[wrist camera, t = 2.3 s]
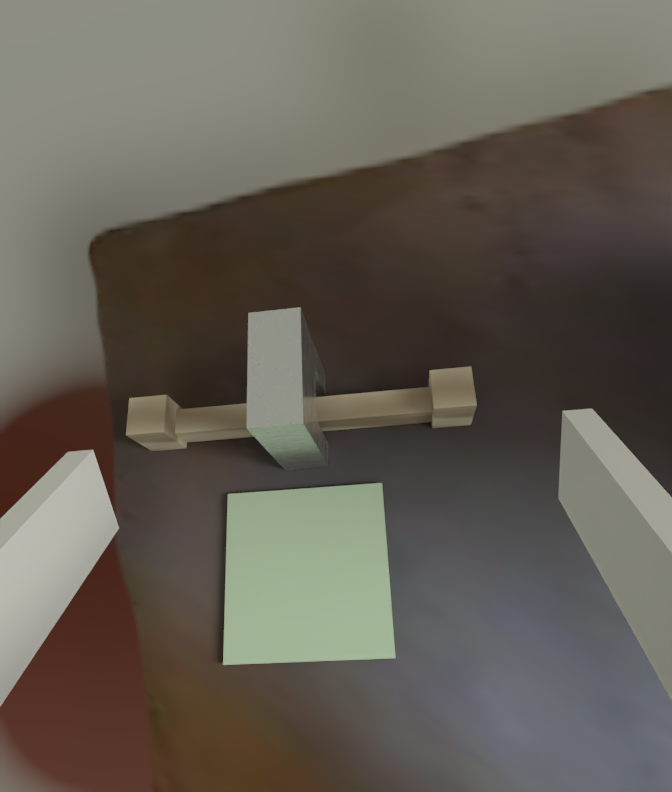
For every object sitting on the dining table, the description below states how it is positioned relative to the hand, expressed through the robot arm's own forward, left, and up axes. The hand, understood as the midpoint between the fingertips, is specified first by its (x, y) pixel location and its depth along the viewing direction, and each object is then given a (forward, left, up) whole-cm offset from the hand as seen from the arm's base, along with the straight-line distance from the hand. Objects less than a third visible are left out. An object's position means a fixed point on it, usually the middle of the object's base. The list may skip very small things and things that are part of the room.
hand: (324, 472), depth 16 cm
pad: (+3, -4, -27) cm, 27 cm away
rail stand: (-7, -10, -27) cm, 29 cm away
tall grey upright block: (-7, -10, -27) cm, 29 cm away
